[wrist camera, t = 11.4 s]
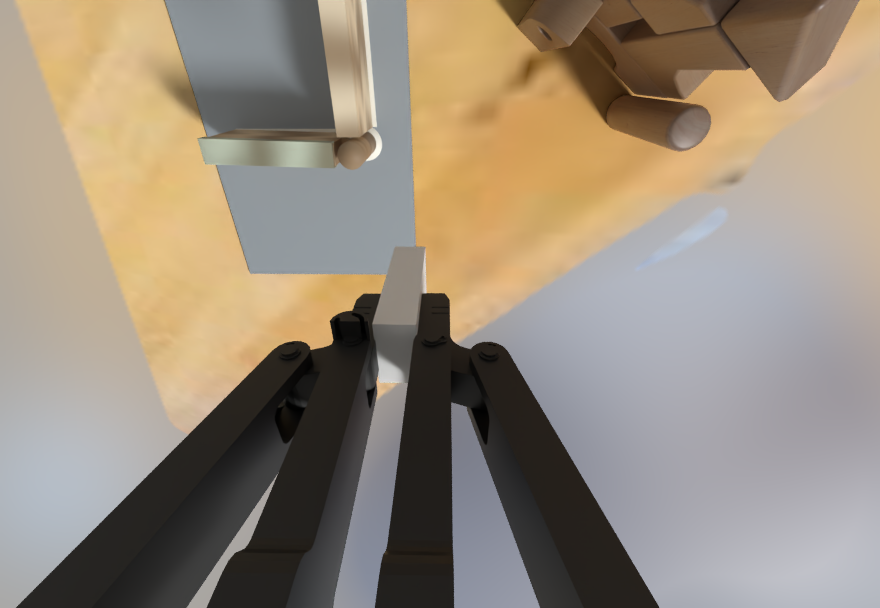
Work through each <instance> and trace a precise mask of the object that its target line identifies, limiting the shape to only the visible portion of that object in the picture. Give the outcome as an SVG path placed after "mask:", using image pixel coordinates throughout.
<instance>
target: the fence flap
mask: <svg viewBox="0 0 880 608" xmlns="http://www.w3.org/2000/svg"><path fill="white" fill-rule="evenodd" d="M349 139H350V138H349V137H337V134H336V133H335V132H303V131H272V130H240V129H235V130H232V131H228V132H224V133H221V134H217V135H213V136H210V137H202V138H198V142H199V145H200V149H201V152H202V155H203V159H204V162H205V164H210V165H242V166H274V167H306V168H336V167H337V165H338V164H339V163H340V162H339V159H338V149H339V147H340V146H341V145H342V144H343V143H345V142H346V141H347V140H349Z"/></svg>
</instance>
